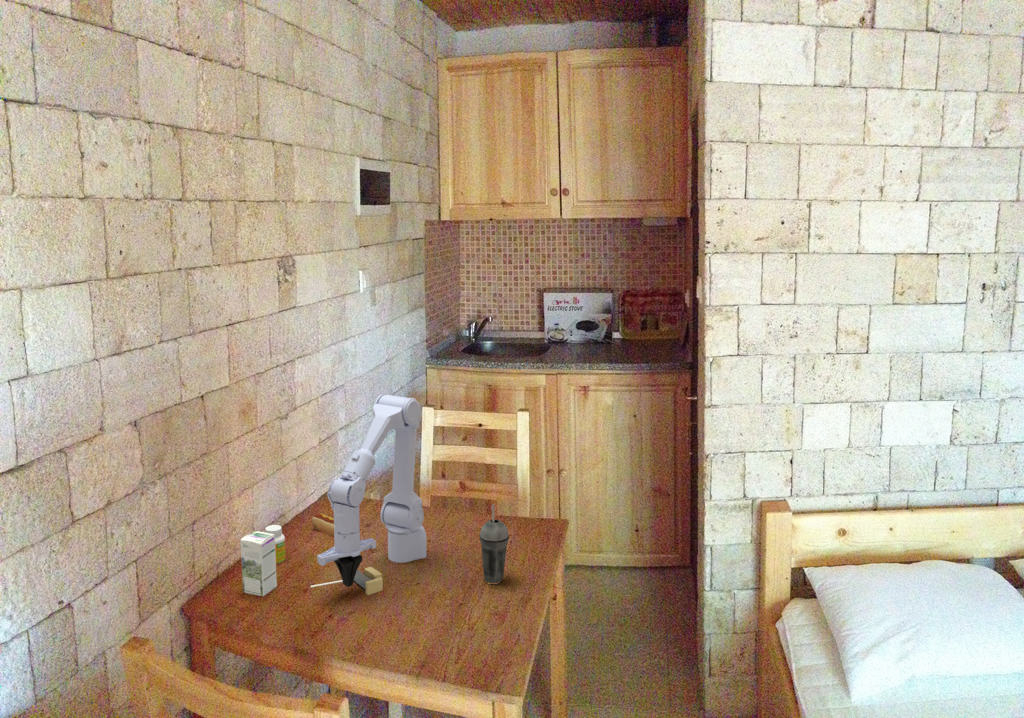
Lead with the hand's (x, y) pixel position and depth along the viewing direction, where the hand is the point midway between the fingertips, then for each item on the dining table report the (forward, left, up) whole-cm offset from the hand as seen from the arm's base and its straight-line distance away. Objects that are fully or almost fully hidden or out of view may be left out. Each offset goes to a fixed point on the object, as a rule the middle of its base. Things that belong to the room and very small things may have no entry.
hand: (348, 584), depth 192 cm
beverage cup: (-35, +5, -3) cm, 35 cm away
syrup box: (+18, -10, -4) cm, 21 cm away
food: (-5, -37, -4) cm, 38 cm away
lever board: (-1, -5, -3) cm, 6 cm away
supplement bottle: (+12, -25, -4) cm, 28 cm away
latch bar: (-4, -5, -2) cm, 6 cm away
